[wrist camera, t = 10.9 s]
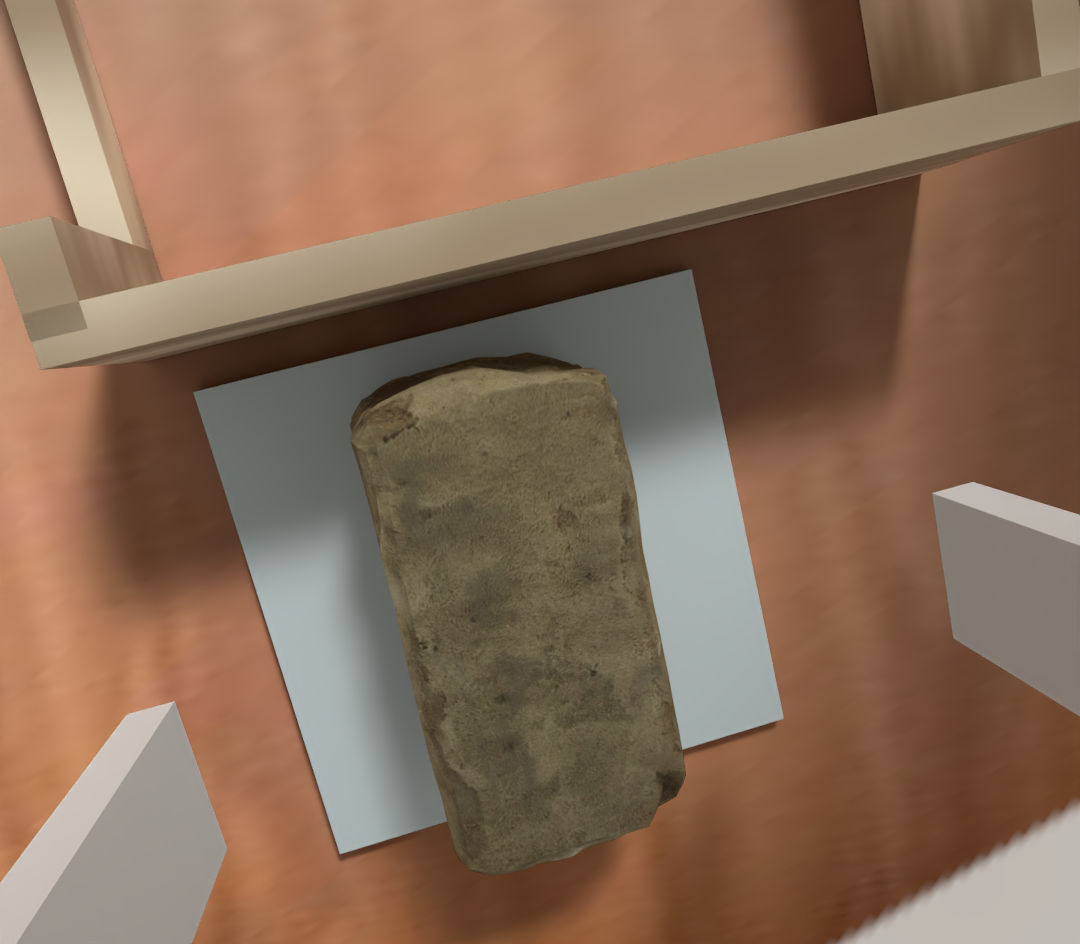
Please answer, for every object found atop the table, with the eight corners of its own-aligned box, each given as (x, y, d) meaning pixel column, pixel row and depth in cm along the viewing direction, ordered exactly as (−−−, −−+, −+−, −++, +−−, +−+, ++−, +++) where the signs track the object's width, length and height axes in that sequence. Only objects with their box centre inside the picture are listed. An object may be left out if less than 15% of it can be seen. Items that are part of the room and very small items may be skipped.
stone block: (454, 793, 24) (464, 909, 19) (345, 386, 22) (324, 397, 17) (654, 735, 24) (714, 833, 19) (566, 334, 22) (607, 330, 17)
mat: (196, 391, 22) (193, 392, 21) (687, 270, 23) (691, 269, 22) (341, 845, 24) (339, 854, 23) (778, 712, 25) (783, 718, 25)
